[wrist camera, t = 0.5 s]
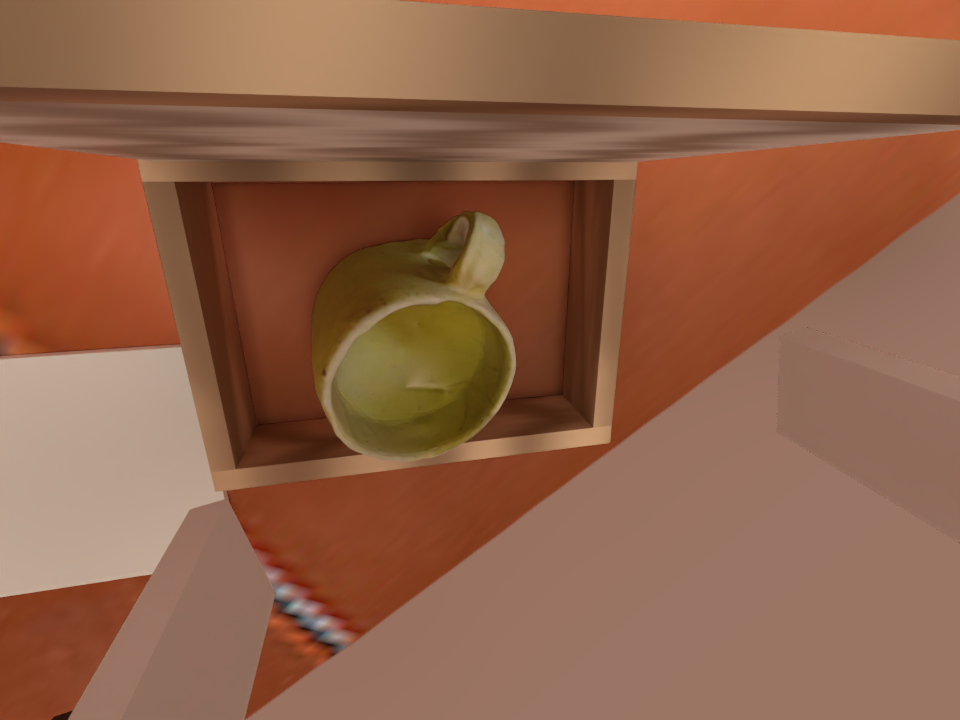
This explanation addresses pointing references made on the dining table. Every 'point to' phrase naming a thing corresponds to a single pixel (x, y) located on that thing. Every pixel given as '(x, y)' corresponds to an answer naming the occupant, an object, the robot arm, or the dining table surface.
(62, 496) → the mat
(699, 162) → the dining table surface
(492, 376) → the mug
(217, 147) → the open wooden box
